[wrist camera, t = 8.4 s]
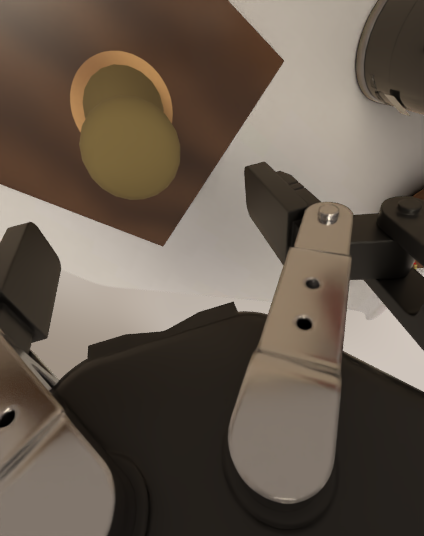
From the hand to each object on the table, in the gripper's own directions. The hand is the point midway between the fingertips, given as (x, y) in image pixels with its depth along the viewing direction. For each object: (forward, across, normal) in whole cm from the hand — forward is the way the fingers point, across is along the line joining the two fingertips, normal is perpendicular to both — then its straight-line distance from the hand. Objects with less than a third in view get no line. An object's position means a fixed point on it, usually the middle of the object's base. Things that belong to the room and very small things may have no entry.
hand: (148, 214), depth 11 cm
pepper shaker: (+16, 0, 0) cm, 16 cm away
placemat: (+16, 0, 0) cm, 16 cm away
